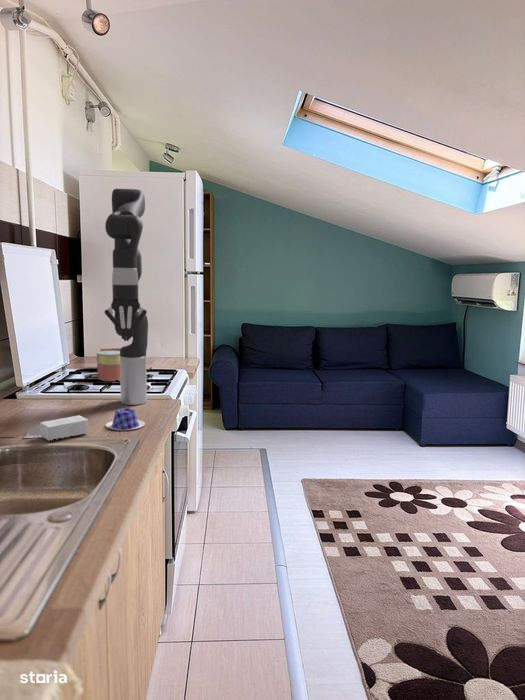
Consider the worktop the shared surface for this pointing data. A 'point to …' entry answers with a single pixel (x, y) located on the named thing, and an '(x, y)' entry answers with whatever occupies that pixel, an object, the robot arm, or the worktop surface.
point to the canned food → (109, 365)
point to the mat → (34, 431)
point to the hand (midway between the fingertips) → (126, 340)
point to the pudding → (125, 420)
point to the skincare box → (64, 427)
